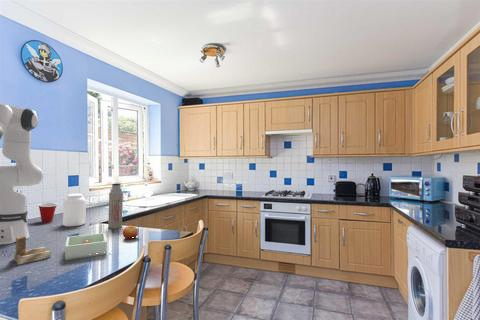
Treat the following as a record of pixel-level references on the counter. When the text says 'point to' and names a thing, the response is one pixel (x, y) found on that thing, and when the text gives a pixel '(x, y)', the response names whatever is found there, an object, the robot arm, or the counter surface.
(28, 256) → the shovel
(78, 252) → the bin
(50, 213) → the plastic cup
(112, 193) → the thermos bottle
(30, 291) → the counter surface
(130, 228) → the fruit
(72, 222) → the white jar
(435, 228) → the counter surface
